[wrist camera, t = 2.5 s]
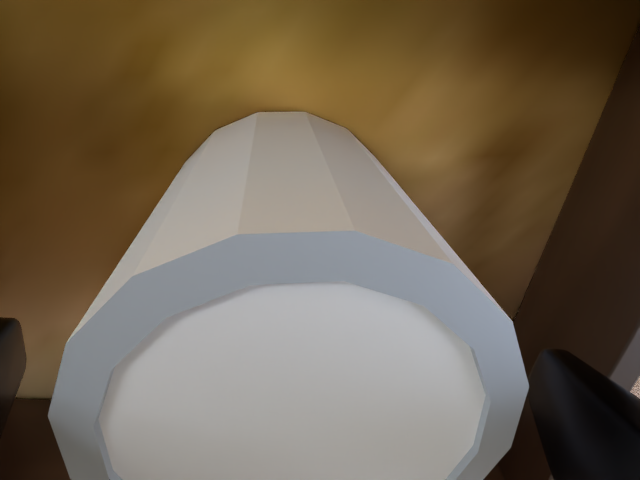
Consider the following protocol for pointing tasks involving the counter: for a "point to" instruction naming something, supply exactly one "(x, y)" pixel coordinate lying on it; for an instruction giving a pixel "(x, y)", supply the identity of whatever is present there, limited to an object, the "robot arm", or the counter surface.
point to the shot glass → (288, 328)
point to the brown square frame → (538, 304)
